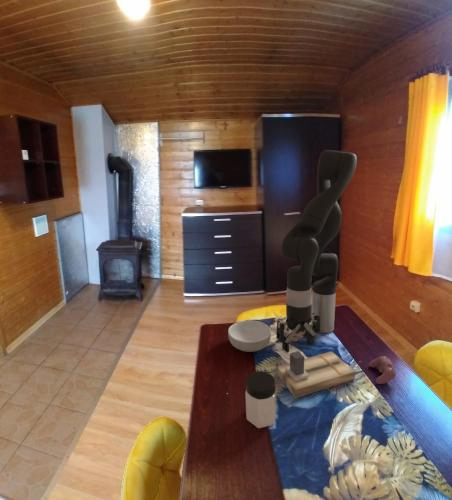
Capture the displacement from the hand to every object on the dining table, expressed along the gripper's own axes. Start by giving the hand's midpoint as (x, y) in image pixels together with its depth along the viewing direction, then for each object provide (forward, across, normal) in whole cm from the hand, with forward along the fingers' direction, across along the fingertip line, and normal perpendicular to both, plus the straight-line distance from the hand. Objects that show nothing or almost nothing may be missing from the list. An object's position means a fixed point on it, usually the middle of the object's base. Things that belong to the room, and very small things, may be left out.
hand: (298, 348), depth 95 cm
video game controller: (+13, -27, +7) cm, 31 cm away
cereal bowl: (+13, +6, -26) cm, 29 cm away
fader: (+10, 0, 0) cm, 10 cm away
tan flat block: (+13, -7, 0) cm, 15 cm away
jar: (+13, +17, +8) cm, 23 cm away
